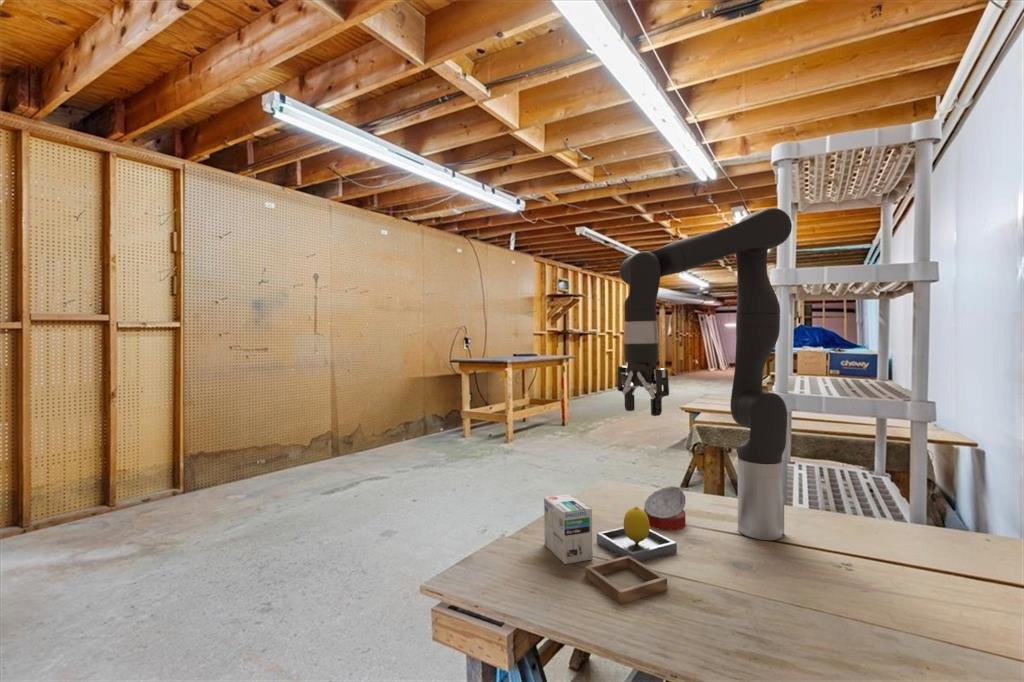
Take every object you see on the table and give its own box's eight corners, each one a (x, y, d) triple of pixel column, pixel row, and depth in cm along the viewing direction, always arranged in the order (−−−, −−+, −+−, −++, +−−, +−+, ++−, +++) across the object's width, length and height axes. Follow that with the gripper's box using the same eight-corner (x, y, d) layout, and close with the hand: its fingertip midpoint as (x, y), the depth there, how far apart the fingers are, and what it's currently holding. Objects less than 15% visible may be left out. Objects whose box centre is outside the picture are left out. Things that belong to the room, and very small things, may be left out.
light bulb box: (593, 560, 100) (593, 508, 100) (564, 565, 98) (564, 512, 98) (570, 540, 110) (569, 492, 110) (543, 544, 108) (542, 496, 108)
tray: (638, 532, 114) (638, 523, 114) (676, 553, 103) (676, 542, 103) (596, 542, 108) (596, 532, 108) (632, 565, 98) (632, 554, 98)
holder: (628, 565, 97) (628, 555, 97) (667, 589, 88) (667, 578, 88) (585, 577, 93) (585, 566, 93) (620, 604, 83) (620, 592, 83)
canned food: (686, 546, 117) (697, 517, 112) (644, 541, 117) (654, 512, 112) (674, 510, 127) (684, 481, 122) (636, 506, 127) (645, 477, 122)
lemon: (651, 540, 107) (651, 504, 107) (647, 550, 102) (646, 512, 102) (626, 536, 109) (626, 501, 109) (621, 546, 104) (620, 509, 104)
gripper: (676, 341, 105) (678, 415, 105) (632, 341, 118) (634, 407, 118) (650, 342, 101) (652, 419, 102) (607, 342, 114) (609, 410, 114)
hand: (642, 413), depth 110 cm, fingers open, 8 cm apart
